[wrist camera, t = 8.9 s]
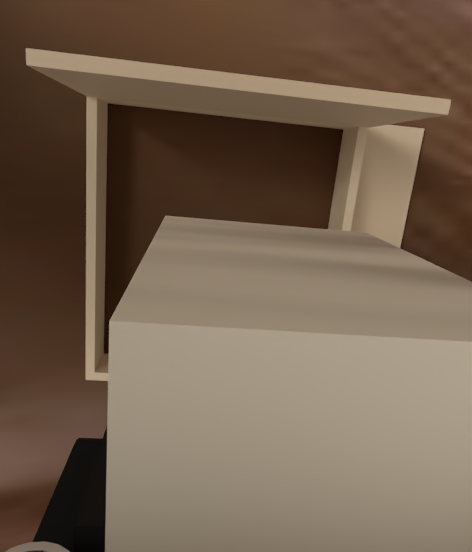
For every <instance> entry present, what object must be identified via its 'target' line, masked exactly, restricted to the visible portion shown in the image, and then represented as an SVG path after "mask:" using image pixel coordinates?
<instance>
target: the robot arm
mask: <svg viewBox="0 0 472 552" xmlns="http://www.w3.org/2000/svg"><path fill="white" fill-rule="evenodd" d="M106 470H107V428H106V431H105V434H104V437H103V439H94V438H79V439H77V440H76V442H75V444H74V446H73V449H72V451H71V453H70V456H69V458H68V460H67V463H66V465H65V467H64V470H63V472H62V474H61V477H60V479H59V481H58V484H57V486H56V488H55V491H54V493H53V496H52V498H51V500H50V503H49V505H48V507H47V510H46V512H45V514H44V517H43V519H42V521H41V524H40V526H39V528H38V531H37V533H36V535H35V538H34V540H33V542H29V543H26V544H23V545H19V546H16V547H13V548H11V549H9V550H7V551H5V552H105V523H106Z"/></svg>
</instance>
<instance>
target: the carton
mask: <svg viewBox="0 0 472 552" xmlns="http://www.w3.org/2000/svg"><path fill="white" fill-rule="evenodd" d="M26 65H27V66H29V67H31V68H33V69H35V70H36V71H38V72H40V73H42V74H44V75H46V76H48V77H50V78H52V79H54V80H56V81H58V82H60V83H62V84H64V85H66V86H68V87H70V88H72V89H73V90H75V91H77V92H79V93H81V94H83V95H85V96H87V110H86V380H100V381H108V363H109V354H106V353H104V309H105V245H106V181H107V118H108V103H109V104H118V105H127V106H136V107H145V108H154V109H163V110H172V111H181V112H190V113H199V114H208V115H217V116H226V117H235V118H244V119H253V120H262V121H271V122H280V123H289V124H298V125H307V126H316V127H325V128H334V129H343V136H342V142H341V148H340V155H339V161H338V168H337V174H336V180H335V187H334V193H333V200H332V206H331V212H330V219H329V225H328V229H329V230H341V231H353V232H364V233H368V234H370V235H373V236H375V237H377V238H379V239H381V240H383V241H385V242H388V243H390V244H392V245H394V246H396V247H398V248H400V246H401V241H402V237H403V232H404V227H405V222H406V217H407V212H408V207H409V202H410V197H411V192H412V188H413V183H414V178H415V173H416V168H417V163H418V158H419V153H420V148H421V143H422V139H423V134H424V129H422V128H414V127H405V126H396V125H388V124H395V123H401V122H407V121H413V120H419V119H425V118H432V117H438V116H444V115H448V112H449V108H450V103H451V100H449V99H441V98H433V97H424V96H416V95H408V94H400V93H391V92H383V91H375V90H367V89H359V88H350V87H342V86H334V85H326V84H318V83H309V82H301V81H293V80H285V79H276V78H268V77H260V76H252V75H244V74H235V73H227V72H219V71H211V70H203V69H194V68H186V67H178V66H170V65H161V64H153V63H145V62H137V61H129V60H120V59H112V58H104V57H96V56H87V55H79V54H71V53H63V52H55V51H46V50H38V49H30V48H26Z"/></svg>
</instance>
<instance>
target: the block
mask: <svg viewBox="0 0 472 552" xmlns="http://www.w3.org/2000/svg"><path fill="white" fill-rule="evenodd" d="M105 552H472V282H471V281H469V280H466V279H464V278H462V277H460V276H458V275H456V274H454V273H452V272H449V271H447V270H445V269H443V268H441V267H439V266H437V265H434V264H432V263H430V262H428V261H426V260H424V259H422V258H420V257H417V256H415V255H413V254H411V253H409V252H407V251H405V250H402V249H400V248H398V247H396V246H394V245H392V244H390V243H388V242H385V241H383V240H381V239H379V238H377V237H375V236H373V235H370V234H368V233H364V232H353V231H341V230H329V229H317V228H306V227H294V226H282V225H270V224H258V223H247V222H235V221H223V220H211V219H199V218H188V217H176V216H165V217H164V219H163V221H162V223H161V225H160V227H159V229H158V231H157V232H156V234H155V236H154V238H153V240H152V242H151V244H150V246H149V247H148V249H147V251H146V253H145V255H144V257H143V259H142V261H141V262H140V264H139V266H138V268H137V270H136V272H135V274H134V276H133V277H132V279H131V281H130V283H129V285H128V287H127V289H126V291H125V292H124V294H123V296H122V298H121V300H120V302H119V304H118V306H117V307H116V309H115V311H114V313H113V315H112V317H111V319H110V321H109V363H108V416H107V470H106V523H105Z"/></svg>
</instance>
